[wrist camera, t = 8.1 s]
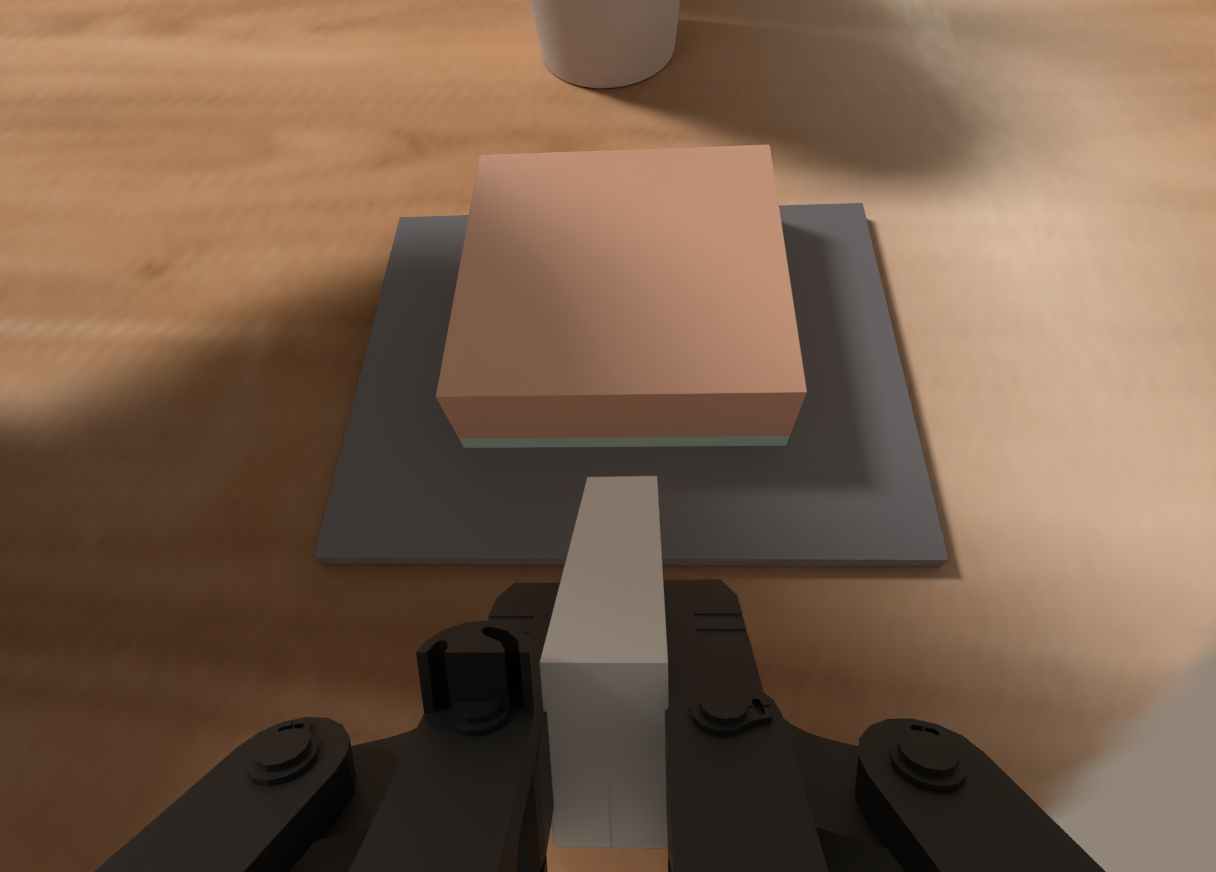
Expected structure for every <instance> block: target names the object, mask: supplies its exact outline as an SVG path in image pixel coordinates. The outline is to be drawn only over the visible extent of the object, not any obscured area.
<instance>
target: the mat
mask: <svg viewBox="0 0 1216 872" xmlns="http://www.w3.org/2000/svg"><path fill="white" fill-rule="evenodd" d="M779 210H780V217H781V224H782V230H783V237H784V244H785V250H786V257H787V264H788V270H789V277H790V284H791V290H792V297H793V303H794V310H795V317H796V323H797V330H798V337H799V343H800V350H801V357H802V363H803V370H804V377H805V383H806V390H807V393H806V396H805V398H804V401H803V403H802V406H801V409H800V411H799V414H798V416H797V419H796V421H795V424H794V426H793V429H792V432H791V434H790V437H789V439H788V442H787V444H786V446H664V447H527V448H464V447H463V445H462V443H461V442H460V440H459V438H458V436H457V434H456V433H455V431H454V429H453V427H452V425H451V423H450V422H449V420H448V418H447V416H446V414H445V413H444V411H443V409H442V407H441V405H440V403H439V402H438V400H437V398H436V393H437V388H438V382H439V377H440V371H441V366H442V360H443V355H444V349H445V344H446V338H447V333H448V328H449V322H450V317H451V311H452V306H453V300H454V295H455V289H456V284H457V278H458V273H459V267H460V262H461V256H462V251H463V245H464V240H465V234H466V229H467V223H468V218H469V215H462V216H430V217H400V219H399V223H398V227H397V231H396V235H395V238H394V242H393V246H392V250H391V254H390V258H389V262H388V266H387V270H386V274H385V278H384V282H383V285H382V289H381V293H380V297H379V301H378V305H377V309H376V313H375V317H374V321H373V325H372V329H371V333H370V336H369V340H368V344H367V348H366V352H365V356H364V360H363V364H362V368H361V372H360V376H359V380H358V383H357V387H356V391H355V395H354V399H353V403H352V407H351V411H350V415H349V419H348V423H347V427H346V430H345V434H344V438H343V442H342V446H341V450H340V454H339V458H338V462H337V466H336V470H335V474H334V477H333V481H332V485H331V489H330V493H329V497H328V501H327V505H326V509H325V513H324V517H323V521H322V525H321V528H320V532H319V536H318V540H317V544H316V548H315V552H314V556H313V558H315V559H316V560H318V561H319V562H320V563H322V564H471V565H565V563H566V559H567V555H568V551H569V547H570V543H571V539H572V535H573V531H574V528H575V524H576V520H577V516H578V512H579V508H580V504H581V500H582V496H583V493H584V489H585V485H586V481H587V477H623V476H657V485H658V502H659V519H660V536H661V553H662V565H689V566H907V567H940V566H942V565H943V564H944V563H946V562H947V561H948V560H949V559H948V555H947V551H946V546H945V542H944V538H943V534H942V530H941V526H940V522H939V517H938V513H937V509H936V505H935V501H934V497H933V493H932V489H931V484H930V480H929V476H928V472H927V468H926V464H925V460H924V455H923V451H922V447H921V443H920V439H919V435H918V431H917V426H916V422H915V418H914V414H913V410H912V406H911V402H910V397H909V393H908V389H907V385H906V381H905V377H904V373H903V368H902V364H901V360H900V356H899V352H898V348H897V344H896V340H895V335H894V331H893V327H892V323H891V319H890V315H889V311H888V306H887V302H886V298H885V294H884V290H883V286H882V282H881V277H880V273H879V269H878V265H877V261H876V257H875V253H874V248H873V244H872V240H871V236H870V232H869V228H868V224H867V219H866V215H865V211H864V207H863V203H849V204H817V205H785V206H779Z"/></svg>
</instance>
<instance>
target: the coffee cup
mask: <svg viewBox="0 0 1216 872" xmlns="http://www.w3.org/2000/svg"><path fill="white" fill-rule="evenodd" d="M529 1H530V5H531V9H532V13H533V18H534V22H535V26H536V31H537V35H538V39H539V43H540V48H541V52H542V56H543V60H544V62H545V65H546V66H547V68H548V69H549V70H550V71H551V72H552V73H553V74H554V75H556V76H557V77H558V78H560V79H562V80H564V81H566V82H569V83H571V84H575V85H578V86H583V87H589V88H615V87H622V86H627V85H631V84H634V83H637V82H640V81H642V80H645V79H647V78H649V77H651V76H653V75H654V74H656V73H657V72H659V71H660V70H661V69H662V68H664V67H665V66H666V64H667V63H668V62H669V61H670V59H671V57H672V55H673V53H674V49H675V41H676V32H677V24H678V15H679V6H680V0H529Z"/></svg>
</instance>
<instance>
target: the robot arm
mask: <svg viewBox="0 0 1216 872" xmlns="http://www.w3.org/2000/svg"><path fill="white" fill-rule="evenodd" d="M416 655H417V662H418V670H419V677H420V685H421V692H422V700H423V707H424V715H423V717H422V719H421V721H420V723H419V725H418V727H417V728H416V729H413V730H411V731H409V732H406V733H403V734H400V735H397V736H393V737H390V738H385V739H381V740H377V741H372V742H368V743H363V744H359V745H355V746H351V743H350V737H349V735H348V733H347V732H346V730H345V729H344V727H343V725H342V724H340V723H337V722H335V721H333V720H331V719H328V718H316V717H305V718H300V719H295V720H291V721H286V722H282V723H280V724H277V725H275V726H273V727H271V728H268V729H266V730H264V731H261V732H259V733H257V734H256V735H255V736H253V737H252V738H250V739H249V740H247V741H246V742H244V743H243V744H242V745H240V746H239V747H237V748H236V749H235V750H234V751H233V752H231V753H230V754H229V755H228V756H227V757H226V758H225V759H223V760H222V761H221V762H220V763H219V764H218V765H217V766H215V767H214V768H213V769H212V770H211V771H210V772H209V773H207V774H206V775H205V776H204V777H203V778H202V779H200V780H199V781H198V782H197V783H196V784H195V785H194V786H192V787H191V788H190V789H189V790H188V791H187V792H186V793H184V794H183V795H182V796H181V797H180V798H179V799H177V800H176V801H175V802H174V803H173V804H172V805H171V806H169V807H168V808H167V809H166V810H165V811H164V812H163V813H161V814H160V815H159V816H158V817H157V818H156V819H155V820H153V821H152V822H151V823H150V824H149V825H148V826H146V827H145V828H144V829H143V830H142V831H141V832H140V833H138V834H137V835H136V836H135V837H134V838H133V839H132V840H130V841H129V842H128V843H127V844H126V845H125V846H124V847H122V848H121V849H120V850H119V851H118V852H117V853H115V854H114V855H113V856H112V857H111V858H110V859H109V860H107V861H106V862H105V863H104V864H103V865H102V866H101V867H99V868H98V869H97V870H96V871H95V872H547V859H546V851H547V845H548V839H549V833H550V827H551V821H552V835H553V847H600V848H649V849H668V872H1105V871H1104V870H1103V869H1102V868H1101V867H1100V866H1099V865H1098V864H1097V863H1096V862H1095V861H1094V860H1093V859H1092V858H1091V857H1090V856H1089V855H1088V854H1087V853H1086V852H1085V851H1084V850H1083V849H1082V848H1081V847H1080V846H1079V845H1078V844H1077V843H1076V842H1075V841H1074V840H1072V838H1071V837H1069V835H1068V834H1067V833H1065V832H1064V830H1063V829H1061V828H1060V826H1058V825H1057V824H1056V823H1055V822H1054V821H1053V820H1052V819H1051V818H1050V817H1049V816H1048V815H1047V814H1046V813H1045V812H1044V811H1043V810H1042V809H1041V808H1040V807H1039V806H1038V805H1037V804H1036V803H1035V802H1034V801H1033V800H1032V799H1031V798H1030V797H1029V796H1028V795H1027V794H1026V793H1025V792H1024V791H1023V790H1022V789H1021V788H1020V787H1019V786H1018V785H1017V784H1016V783H1015V782H1014V781H1013V780H1012V779H1011V778H1010V777H1009V776H1008V775H1007V774H1006V773H1005V772H1004V771H1003V770H1002V769H1000V768H999V767H998V766H997V765H996V764H995V763H994V762H993V761H992V760H991V759H990V758H989V757H988V756H987V755H986V754H985V753H984V752H983V751H982V750H980V749H979V748H978V747H976V746H975V745H974V744H972V743H971V742H970V741H968V740H967V739H966V738H965V737H963V736H962V735H959V734H957V733H955V732H953V731H951V730H948V729H946V728H944V727H942V726H940V725H938V724H933V723H929V722H925V721H920V720H916V719H887V720H884V721H881V722H879V723H876V724H873V725H870V726H869V727H868V729H867V730H866V731H865V732H864V733H863V734H862V736H861V737H860V738H859V747H858V746H854V745H850V744H846V743H842V742H838V741H834V740H829V739H825V738H822V737H819V736H816V735H813V734H810V733H807V732H805V731H803V730H801V729H799V728H797V727H795V726H793V725H791V724H790V723H789V722H787V721H786V720H785V719H783V716H782V714H781V712H780V710H779V709H778V707H777V705H776V704H775V702H774V700H773V699H771V698H770V697H769V696H767V695H766V694H765V693H764V692H763V688H762V685H761V681H760V677H759V674H758V670H757V666H756V663H755V659H754V655H753V652H752V648H751V645H750V641H749V637H748V634H747V633H746V626H745V623H744V619H743V617H742V612H741V608H740V604H739V601H738V597H737V595H736V594H735V593H734V592H733V591H732V590H731V589H730V588H729V587H728V586H727V585H726V584H724V583H723V582H722V581H721V580H663V570H662V553H661V536H660V519H659V502H658V485H657V476H623V477H587V481H586V485H585V489H584V493H583V496H582V500H581V504H580V508H579V512H578V516H577V520H576V524H575V528H574V531H573V535H572V539H571V543H570V547H569V551H568V555H567V559H566V563H565V566H564V570H563V574H562V578H561V582H560V583H514V584H513V585H512V586H511V587H509V588H508V589H507V590H506V591H505V592H503V593H502V594H501V595H500V596H499V597H497V598H496V601H495V603H494V605H493V607H492V610H491V612H490V614H489V620H487V621H480V622H471V623H464V624H461V625H458V626H455V627H451V628H448V629H445V630H443V631H442V632H440V633H438V634H437V635H435V636H433V637H431V638H430V639H428V640H427V641H426V642H425V643H424V644H423V645H422V647H421V648H420V649H419V650H418V651H417V652H416Z"/></svg>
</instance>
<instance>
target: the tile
mask: <svg viewBox="0 0 1216 872" xmlns="http://www.w3.org/2000/svg"><path fill="white" fill-rule="evenodd" d="M806 393H807V390H806V383H805V377H804V370H803V363H802V357H801V350H800V343H799V337H798V330H797V323H796V317H795V310H794V303H793V297H792V290H791V284H790V277H789V270H788V264H787V257H786V250H785V244H784V237H783V230H782V224H781V217H780V210H779V204H778V197H777V191H776V184H775V177H774V171H773V164H772V157H771V151H770V145H744V146H717V147H690V148H663V149H636V150H609V151H582V152H555V153H528V154H501V155H480V157H479V163H478V168H477V174H476V179H475V185H474V190H473V196H472V201H471V207H470V212H469V218H468V223H467V229H466V234H465V240H464V245H463V251H462V256H461V262H460V267H459V273H458V278H457V284H456V289H455V295H454V300H453V306H452V311H451V317H450V322H449V328H448V333H447V338H446V344H445V349H444V355H443V360H442V366H441V371H440V377H439V382H438V388H437V393H436V398H437V400H438V402H439V403H440V405H441V407H442V409H443V411H444V413H445V414H446V416H447V418H448V420H449V422H450V423H451V425H452V427H453V429H454V431H455V433H456V434H457V436H458V438H459V440H460V442H461V443H462V445H463V447H464V448H527V447H664V446H786V444H787V442H788V439H789V437H790V434H791V432H792V429H793V426H794V424H795V421H796V419H797V416H798V414H799V411H800V409H801V406H802V403H803V401H804V398H805V396H806Z"/></svg>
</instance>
